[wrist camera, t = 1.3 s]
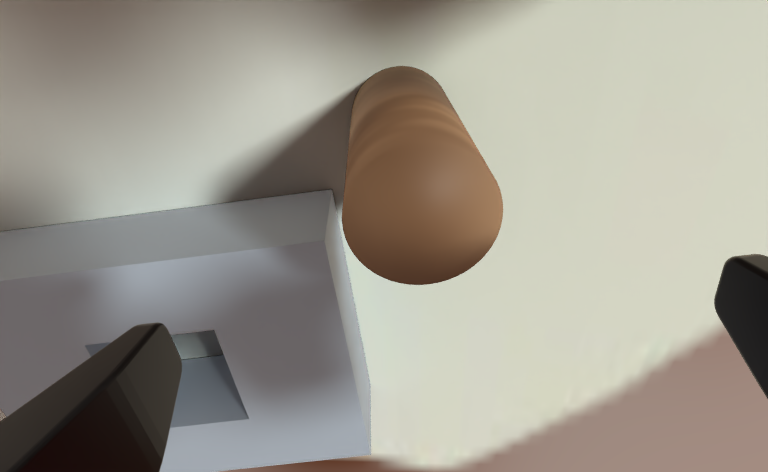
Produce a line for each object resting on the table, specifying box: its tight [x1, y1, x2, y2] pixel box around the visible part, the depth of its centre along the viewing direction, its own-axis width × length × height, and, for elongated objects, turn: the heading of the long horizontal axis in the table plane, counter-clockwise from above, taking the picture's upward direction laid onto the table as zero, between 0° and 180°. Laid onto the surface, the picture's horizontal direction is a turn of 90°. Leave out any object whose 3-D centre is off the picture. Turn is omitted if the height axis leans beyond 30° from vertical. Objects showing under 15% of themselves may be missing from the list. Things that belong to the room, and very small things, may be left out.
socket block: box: [0, 189, 371, 472], centre depth 20 cm, size 14×11×4 cm
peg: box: [342, 66, 503, 285], centre depth 14 cm, size 4×4×8 cm
